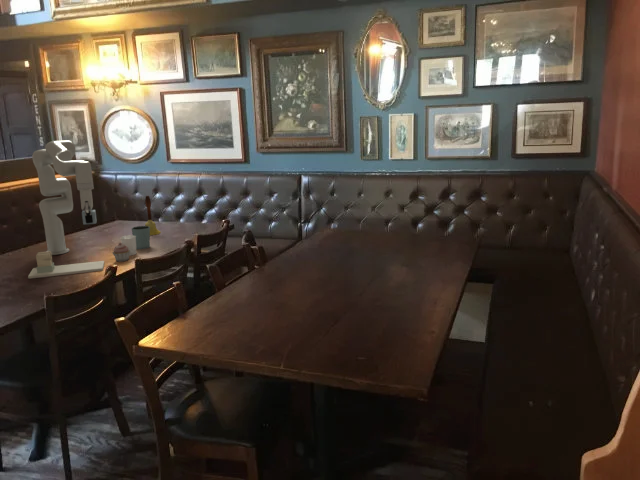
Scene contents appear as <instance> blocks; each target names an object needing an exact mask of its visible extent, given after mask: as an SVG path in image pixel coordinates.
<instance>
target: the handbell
mask: <svg viewBox="0 0 640 480" xmlns="http://www.w3.org/2000/svg"><path fill="white" fill-rule="evenodd" d="M144 202H145V208H146V213H147V222H145V223H144V226H149V227H150V235H149V236H150V237H151V236H157V235H160V234H161V233H162V232H161V231H160V230H159V229H158V228H157V226H156V222H155V221H153V219H152V212H151V210H152V209H151V207H152V202H151V196H149V195H145V199H144Z"/></svg>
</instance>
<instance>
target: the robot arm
mask: <svg viewBox="0 0 640 480" xmlns="http://www.w3.org/2000/svg"><path fill="white" fill-rule="evenodd" d="M76 151H77V150H76V145H75V144H74V142H72V141H71V140H68V139H66V140H65V139H64V140H51V141H49V142H47V143H46V144H45V147H44V148H42V149H38V150H37V149H36V150H34V151H33V153H32V155H31V156H32V162H33V165H34V167H35V169H36V172H37V178H38V186H39V190H40V194H41V195H42V196H44V197H49V198H44V199H42V200H40V201H39V204H38V206H39V210H40V214H41V217H42V222H43V227H44V234H45V241H46V246H47V250H46V251H45V252H48V251H51V255H52V256H57V255H63V254H67V253H69V252H70V248H68V247H66V240H65V232H64V224H63V221H62V219H61V218H60V217H59V216H58V215H61V214H68V213H70V212H72V211H74V201H73V191H72V186H71V183H70V180H68V179H67V178H66V177H73V176H75V182H76V188H77V191H79V197H80V206H81V207H80V208H81V210H82V211H85V219H86V223H93V219H92V215H91V210H93V207H94V203H93V201H94V200H93V192H92V190H94V189H95V187H94V179H93V171H92V164H91V162H90V161H87V160H83V159H77V160H73V157H74V156H75V154H76ZM55 172H56V173H57V174H58V175H59V176H62V177H57V178H56V173H55ZM60 195H61V196H60ZM52 196H54V197H52ZM57 196H58V197H57ZM89 210H90V211H89Z"/></svg>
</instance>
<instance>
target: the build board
mask: <svg viewBox="0 0 640 480" xmlns="http://www.w3.org/2000/svg"><path fill="white" fill-rule="evenodd" d="M52 262H53V261H52ZM104 267H105V260H100V261H99V260H98V261H89V262H78V263H70V264H62V265H61V264H60V265H55V262H53V263H52V265H51V266H43V267H38V265H37V266H36V267H33V268H32V270H31V271H30V273H29V274H28V277H27V279H36V278H48V277H54V276H55V277H56V276H66V275H73V274H83V273H92V272H101V271H102V272H103V271H104Z"/></svg>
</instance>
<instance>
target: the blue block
mask: <svg viewBox="0 0 640 480" xmlns="http://www.w3.org/2000/svg"><path fill="white" fill-rule="evenodd" d="M89 211H90V210H89ZM91 215H92V219H93V223H86V219H85V210H82V212H81V217H82V218H81V219H82V223H83V224H82V225H94V224H97V220H98V219H97V212H96V209H92V210H91Z"/></svg>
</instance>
